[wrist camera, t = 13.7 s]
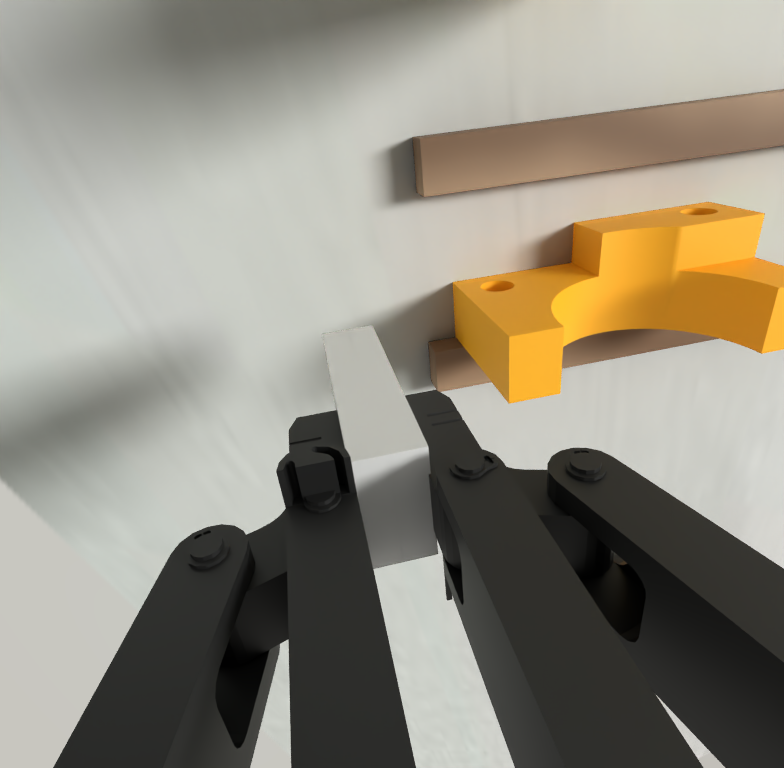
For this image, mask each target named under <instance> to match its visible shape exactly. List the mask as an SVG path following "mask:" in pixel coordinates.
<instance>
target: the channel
mask: <svg viewBox="0 0 784 768" xmlns="http://www.w3.org/2000/svg"><path fill="white" fill-rule="evenodd" d="M412 138H413V151H414V164H415V177H416V190H417V193H418V194H420V195H422V196H423V197H428V196H435V195H442V194H449V193H456V192H462V191H469V190H476V189H483V188H490V187H497V186H504V185H511V184H518V183H525V182H532V181H539V180H546V179H553V178H560V177H567V176H574V175H581V174H588V173H595V172H602V171H609V170H616V169H622V168H629V167H636V166H643V165H650V164H657V163H664V162H671V161H678V160H685V159H692V158H699V157H706V156H713V155H720V154H727V153H734V152H741V151H748V150H755V149H762V148H769V147H776V146H782V145H784V89H782V90H774V91H766V92H758V93H751V94H743V95H735V96H727V97H720V98H712V99H704V100H696V101H689V102H681V103H673V104H665V105H658V106H650V107H642V108H634V109H627V110H619V111H611V112H603V113H596V114H588V115H580V116H572V117H565V118H557V119H549V120H541V121H534V122H526V123H518V124H510V125H503V126H495V127H487V128H479V129H471V130H464V131H456V132H448V133H440V134H433V135H425V136H417V137H412ZM714 339H719V338H716V337H712V336H708V335H703V334H697V333H691V332H685V331H676V330H665V329H625V330H615V331H608V332H602V333H597V334H593V335H589V336H586V337H583V338H580V339H577V340H575V341H573V342H571V343H569V344H567V345H565V346H564V347H563V356H562V368H567V367H573V366H578V365H583V364H588V363H594V362H599V361H604V360H609V359H615V358H620V357H625V356H630V355H635V354H641V353H646V352H651V351H656V350H662V349H667V348H672V347H677V346H682V345H688V344H693V343H698V342H703V341H709V340H714ZM428 346H429V359H430V372H431V381H432V383H433V384H434V386H435V388H436V390H437V391H439V392H442V391H447V390H453V389H458V388H463V387H468V386H473V385H479V384H484V383H489V382H491V380H490V379H489V378H488V377H487V375H486V374H485V373H484V372H483V370H482V369H481V368H480V367H479V365H478V364H477V363H476V362H475V360H474V359H473V358H472V357H471V355H470V354H469V353H468V352H467V350H466V349H465V348H464V347H463V345H462V344H461V343H460V342H459V340H458V339H457V338H456V337H454V338H448V339H442V340H437V341H431V342H428Z"/></svg>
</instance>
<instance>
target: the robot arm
mask: <svg viewBox="0 0 784 768" xmlns="http://www.w3.org/2000/svg"><path fill="white" fill-rule="evenodd" d="M322 337H323V342H324V347H325V353H326V358H327V364H328V369H329V375H330V380H331V386H332V391H333V396H334V402H335V407H336V410H335V411H330V412H325V413H320V414H314V415H309V416H304V417H299V418H296V420H295V422H294V423H293V425H292V426H291V428H290V429H289V445H290V446H289V453H288V454H287V455H286V456H285V457H284V458H283V459H282V460H281V461H280V462H279V465H278V468H277V471H276V472H277V476H278V480H279V484H280V487H281V491H282V495H283V499H284V503H285V506H286V509H285V510H284V512H283V513H282V514H281V515H280V516H279V517H278V518H276V519H275V520H274V521H273V522H271V523H270V524H268V525H266V526H264V527H262V528H260V529H258V530H256V531H254V532H252V533H249V534H247V535H245V533H244V531H243V530H241V529H239V528H238V527H236V526H232V525H222V524H221V525H216V526H210V527H206V528H204V529H202V530H199V531H197V532H195V533H193V534H191V535H190V536H188V537H187V538H186V539H184V540H183V541H182V542H180V543H179V545H178V546H177V547H176V548H175V550H174V551H173V552H172V553H171V555H170V557H169V559H168V560H167V562H166V564H165V566H164V568H163V569H162V571H161V573H160V575H159V577H158V579H157V580H156V582H155V584H154V586H153V588H152V589H151V591H150V593H149V595H148V597H147V599H146V600H145V602H144V604H143V606H142V608H141V609H140V611H139V613H138V615H137V617H136V618H135V620H134V622H133V624H132V626H131V628H130V629H129V631H128V633H127V635H126V637H125V638H124V640H123V642H122V644H121V646H120V648H119V650H118V651H117V653H116V655H115V657H114V658H113V660H112V662H111V664H110V666H109V667H108V669H107V671H106V673H105V675H104V677H103V678H102V680H101V682H100V684H99V686H98V687H97V689H96V691H95V693H94V695H93V696H92V698H91V700H90V702H89V704H88V706H87V707H86V709H85V711H84V713H83V715H82V716H81V718H80V720H79V722H78V724H77V726H76V727H75V729H74V731H73V733H72V735H71V736H70V738H69V740H68V742H67V744H66V746H65V747H64V749H63V751H62V753H61V754H60V757H59V758H58V760H57V762H56V764H55V766H54V767H53V768H250V765H251V761H252V758H253V754H254V750H255V745H256V741H257V738H258V734H259V730H260V726H261V722H262V718H263V714H264V710H265V706H266V702H267V699H268V695H269V691H270V687H271V683H272V679H273V675H274V671H275V667H276V663H277V659H278V655H279V649H280V644H281V643H282V642H284V641H286V640H288V639H289V678H290V724H291V766H292V767H291V768H416V766H415V761H414V757H413V752H412V747H411V743H410V738H409V733H408V729H407V724H406V719H405V715H404V710H403V705H402V701H401V696H400V692H399V687H398V682H397V678H396V673H395V668H394V664H393V659H392V654H391V650H390V645H389V640H388V636H387V631H386V626H385V622H384V617H383V612H382V608H381V603H380V598H379V594H378V589H377V584H376V580H375V575H374V570H373V569H375V568H379V567H384V566H388V565H392V564H397V563H401V562H405V561H410V560H414V559H418V558H423V557H427V556H432V555H436V554H438V548H437V540H438V543H439V545H440V548H441V550H442V553H443V562H444V574H445V586H446V596H447V600H451V599H452V595H453V598H454V601H455V604H456V606H457V609H458V612H459V615H460V617H461V620H462V623H463V626H464V628H465V631H466V634H467V637H468V639H469V642H470V645H471V648H472V650H473V653H474V656H475V659H476V661H477V664H478V667H479V670H480V672H481V675H482V678H483V681H484V683H485V686H486V689H487V692H488V694H489V697H490V700H491V703H492V705H493V708H494V711H495V714H496V716H497V719H498V722H499V725H500V727H501V730H502V733H503V736H504V738H505V741H506V744H507V747H508V749H509V752H510V755H511V758H512V760H513V763H514V766H515V768H703V766H702V765H701V763H700V762H699V760H698V759H697V757H696V756H695V754H694V753H693V751H692V750H691V748H690V747H689V745H688V743H687V742H686V740H685V739H684V737H683V736H682V734H681V733H680V731H679V730H678V728H677V727H676V725H675V724H674V722H673V721H672V719H671V718H670V716H669V714H668V713H667V711H666V710H665V708H664V707H663V705H662V704H661V702H660V701H659V699H658V698H657V696H658V697H659V698H660V699H661V700H662V701H663V702H664V703H665V704H666V706H667V707H668V708H669V709H670V710H671V711H672V712H673V713H674V714H675V715H676V716H677V717H678V718H679V719H680V720H681V721H682V722H683V723H684V724H685V726H686V727H687V728H688V729H689V730H690V731H691V732H692V733H693V734H694V735H695V736H696V737H697V738H698V739H699V740H700V741H701V742H702V743H703V744H704V746H705V747H706V748H707V749H708V750H709V751H710V752H711V753H712V754H713V755H714V756H715V757H716V758H717V759H718V760H719V761H720V762H721V763H722V764H723V766H725V768H784V569H783V568H782V567H780V566H779V565H777V564H776V563H774V562H773V561H771V560H769V559H768V558H766V557H765V556H763V555H762V554H760V553H759V552H757V551H756V550H754V549H753V548H751V547H750V546H748V545H747V544H745V543H744V542H742V541H740V540H739V539H737V538H736V537H734V536H733V535H731V534H730V533H728V532H727V531H725V530H724V529H722V528H721V527H719V526H718V525H716V524H715V523H713V522H711V521H710V520H708V519H707V518H705V517H704V516H702V515H701V514H699V513H698V512H696V511H695V510H693V509H692V508H690V507H689V506H687V505H685V504H684V503H682V502H681V501H679V500H678V499H676V498H675V497H673V496H672V495H670V494H669V493H667V492H666V491H664V490H663V489H661V488H660V487H658V486H656V485H655V484H653V483H652V482H650V481H649V480H647V479H646V478H644V477H643V476H641V475H640V474H638V473H637V472H635V471H634V470H632V469H631V468H629V467H627V466H626V465H624V464H623V463H621V462H620V461H618V460H617V459H615V458H614V457H612V456H610V455H608V454H606V453H604V452H602V451H598V450H593V449H589V448H570V449H566V450H562V451H560V452H558V453H556V454H555V455H553V456H552V457H551V459H550V461H549V462H548V470H522V469H513V468H509V467H506V466H505V464H504V463H503V461H502V460H501V459H500V458H499V457H497V456H496V455H495V454H493V453H491V452H488V451H486V450H482V449H481V447H480V446H479V444H478V442H477V441H476V439H475V438H474V436H473V434H472V433H471V431H470V430H469V428H468V426H467V425H466V423H465V422H464V420H462V417H461V415H460V413H459V412H458V411H457V409H456V407H455V405H454V404H453V402H452V401H451V399H450V398H449V397H447V396H446V395H444V394H442V393H441V392H439V391H437V390H433V391H427V392H422V393H417V394H411V395H406V396H405V395H404V393H403V390H402V388H401V386H400V384H399V382H398V380H397V377H396V375H395V373H394V371H393V369H392V367H391V364H390V362H389V360H388V358H387V356H386V354H385V351H384V349H383V347H382V345H381V343H380V341H379V338H378V336H377V334H376V332H375V330H374V328H373V325H370V326H364V327H358V328H352V329H346V330H341V331H335V332H329V333H323V334H322ZM655 694H656V695H657V696H656V695H655Z"/></svg>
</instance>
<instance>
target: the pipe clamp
mask: <svg viewBox="0 0 784 768" xmlns="http://www.w3.org/2000/svg"><path fill="white" fill-rule="evenodd" d="M764 215H765V213H760V212H755V211H750V210H745V209H741V208H736V207H731V206H726V205H721V204H717V203H712V202H705V203H698V204H692V205H685V206H679V207H672V208H666V209H659V210H653V211H646V212H640V213H634V214H627V215H621V216H614V217H608V218H601V219H595V220H588V221H582V222H575V223H574V230H573V246H572V261H571V263H566V264H560V265H554V266H548V267H542V268H536V269H530V270H524V271H517V272H511V273H505V274H499V275H493V276H487V277H481V278H475V279H469V280H463V281H457V282H453V298H454V318H455V337H456V338H457V339H458V340H459V342H460V343H461V344H462V345H463V347H464V348H465V349H466V350H467V352H468V353H469V354H470V355H471V357H472V358H473V359H474V360H475V362H476V363H477V364H478V365H479V367H480V368H481V369H482V370H483V372H484V373H485V374H486V375H487V377H488V378H489V379H490V380H491V382H492V383H493V384H494V385H495V387H496V388H497V389H498V390H499V392H500V393H501V394H502V395H503V397H504V398H505V399H506V400H507V402H508V403H514V402H519V401H524V400H529V399H534V398H539V397H544V396H550V395H555V394H560V389H561V372H562V356H563V347H564V346H565V345H567V344H569V343H571V342H573V341H575V340H577V339H580V338H583V337H586V336H589V335H593V334H597V333H602V332H608V331H615V330H625V329H665V330H676V331H685V332H691V333H697V334H703V335H708V336H712V337H716V338H720V339H724V340H727V341H731V342H734V343H737V344H740V345H743V346H745V347H748V348H750V349H753V350H755V351H757V352H759V353H761V354H762V353H767V352H772V351H777V350H782V349H784V266H782V265H778V264H775V263H772V262H768V261H765V260H762V259H759V258H755V253H756V249H757V245H758V240H759V236H760V232H761V227H762V223H763V219H764Z"/></svg>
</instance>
